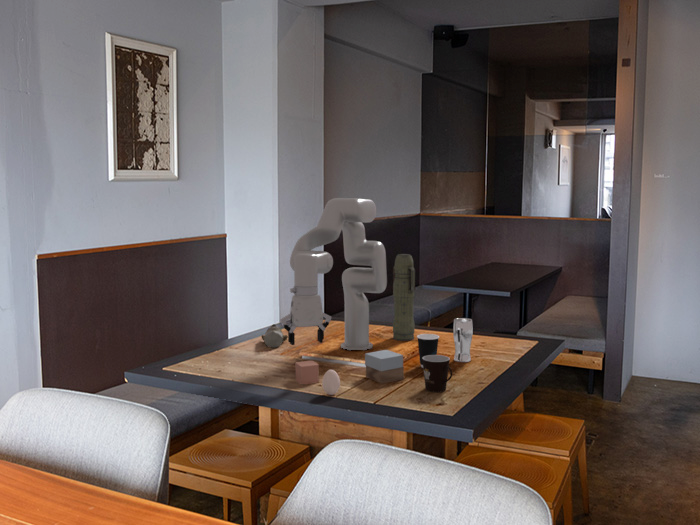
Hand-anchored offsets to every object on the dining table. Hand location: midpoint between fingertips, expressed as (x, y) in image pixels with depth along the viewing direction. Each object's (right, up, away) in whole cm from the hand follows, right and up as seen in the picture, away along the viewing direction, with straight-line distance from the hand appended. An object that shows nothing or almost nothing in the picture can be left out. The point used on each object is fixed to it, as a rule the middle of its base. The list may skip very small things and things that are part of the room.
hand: (306, 343), depth 233 cm
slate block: (+26, -8, +4) cm, 27 cm away
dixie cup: (+42, -11, +19) cm, 47 cm away
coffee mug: (+42, -14, -9) cm, 45 cm away
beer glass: (+55, -10, +28) cm, 63 cm away
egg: (+9, -15, -13) cm, 21 cm away
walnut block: (+26, -13, +5) cm, 29 cm away
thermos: (+37, -5, +63) cm, 73 cm away
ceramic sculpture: (-16, -7, +53) cm, 56 cm away
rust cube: (0, -13, +2) cm, 13 cm away
